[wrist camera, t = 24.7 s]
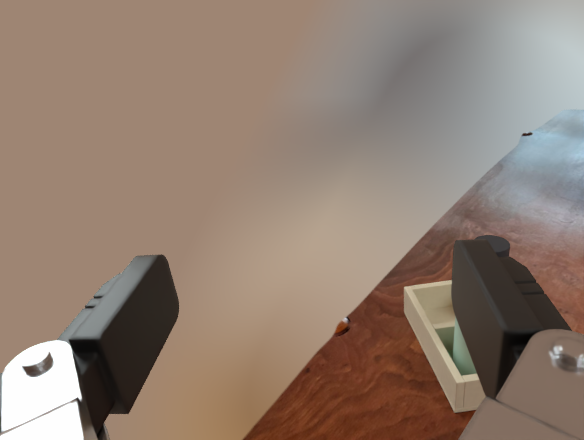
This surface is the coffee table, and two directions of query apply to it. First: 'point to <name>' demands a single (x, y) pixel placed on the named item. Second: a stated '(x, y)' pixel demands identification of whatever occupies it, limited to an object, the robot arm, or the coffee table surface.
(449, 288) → the cream rectangular tray
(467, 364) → the bottle
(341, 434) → the coffee table surface
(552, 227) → the coffee table surface
